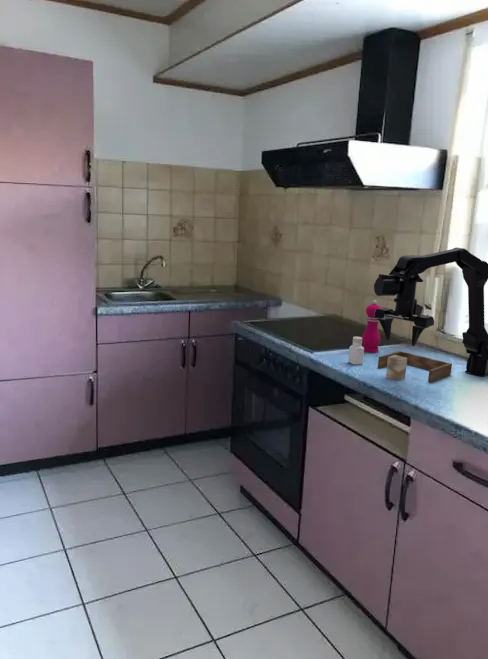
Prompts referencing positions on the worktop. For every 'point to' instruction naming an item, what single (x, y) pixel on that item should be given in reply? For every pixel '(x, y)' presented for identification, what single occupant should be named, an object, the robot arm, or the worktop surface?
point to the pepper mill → (371, 330)
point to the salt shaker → (356, 351)
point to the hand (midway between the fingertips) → (400, 342)
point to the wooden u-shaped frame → (421, 364)
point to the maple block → (396, 367)
